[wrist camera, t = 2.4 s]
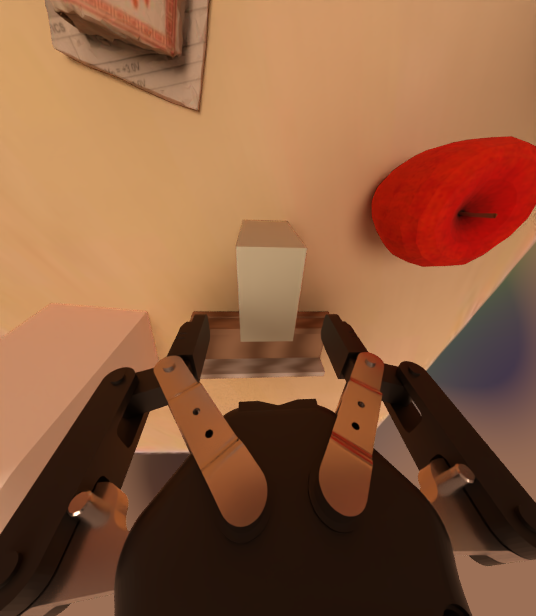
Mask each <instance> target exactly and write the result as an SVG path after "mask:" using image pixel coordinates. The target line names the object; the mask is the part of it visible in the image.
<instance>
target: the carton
mask: <svg viewBox="0 0 536 616" xmlns="http://www.w3.org/2000/svg"><path fill="white" fill-rule="evenodd" d="M306 251H307V247H306V246H305V245H304V243H303V242H302V241H301V239H300V238H299V237H298V235H297V234H296V232H295V231H294V230H293V228H292V227H291V226H290V224H289V223H288V221H269V220H243V221H242V225H241V229H240V232H239V236H238V240H237V244H236V259H237V279H238V298H239V318H240V338H241V342H265V341H293V337H294V330H295V325H296V319H297V312H298V306H299V299H300V293H301V286H302V280H303V273H304V267H305V260H306V254H307V253H306Z"/></svg>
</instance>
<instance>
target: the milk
mask: <svg viewBox="0 0 536 616" xmlns="http://www.w3.org/2000/svg"><path fill="white" fill-rule="evenodd" d="M157 362H159V361H158V356H157V352H156V348H155V343H154V339H153V334H152V330H151V326H150V321H149V317H148V312H147V311H139V310H127V309H116V308H104V307H93V306H82V305H70V304H59V303H50V304H49V305H48V306H46V307H45V308H43V309H42V310H40V311H39V312H38V313H36V314H35V315H33V316H32V317H31V318H29V319H28V320H26V321H25V322H23V323H22V324H21V325H19V326H18V327H16V328H15V329H13V330H12V331H11V332H9V333H8V334H6V335H5V336H4V337H2V338H1V339H0V534H1V532H2V531H3V529H4V528H5V526H6V525H7V523H8V522H9V520H10V519H11V517H12V516H13V514H14V513H15V511H16V510H17V508H18V507H19V505H20V504H21V502H22V501H23V499H24V498H25V496H26V495H27V493H28V492H29V490H30V488H31V487H32V485H33V484H34V482H35V481H36V479H37V478H38V476H39V475H40V473H41V472H42V470H43V469H44V467H45V466H46V464H47V463H48V461H49V460H50V458H51V457H52V455H53V454H54V452H55V451H56V449H57V448H58V446H59V445H60V443H61V442H62V440H63V439H64V437H65V436H66V434H67V432H68V431H69V429H70V428H71V426H72V425H73V423H74V422H75V420H76V419H77V417H78V416H79V414H80V413H81V411H82V410H83V408H84V407H85V405H86V404H87V402H88V401H89V399H90V398H91V396H92V395H93V393H94V392H95V390H96V389H97V387H98V386H99V384H100V383H101V381H102V380H103V378H104V377H105V376H106V375H107V374H109V373H110V372H112V371H114V370H116V369H119V368H123V367H130V368H132V369H134V371H135V373H136V372H140V371H144V370H147V369H151V368H154V367H155V365H156V364H157Z"/></svg>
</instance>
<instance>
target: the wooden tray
mask: <svg viewBox="0 0 536 616" xmlns="http://www.w3.org/2000/svg"><path fill="white" fill-rule="evenodd" d="M195 314H207V315H208V321H209V328H210V342H209V346H208V350H207V354H206V358H205V362H204V366H203V370H202V374H201V377H200V379H216V378H259V377H302V376H324V373H325V371H324V368H323V365H322V362H321V360H320V355H321V351H322V347H323V343H322V340H321V329H322V325H323V321H324V317H325V315H326V314H329V312H297V319H296V325H295V330H294V337H293V341H265V342H241V338H240V318H239V312H193V313H192V315H191V320H190V322H192V320H193V317H194V315H195Z"/></svg>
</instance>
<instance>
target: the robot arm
mask: <svg viewBox="0 0 536 616" xmlns="http://www.w3.org/2000/svg"><path fill="white" fill-rule="evenodd" d="M321 340H322V343H323V345H324V347H325V350H326V352H327V354H328V356H329V359H330V361H331V363H332V366H333V368H334V370H335V373H336V375H337V377H338V379H345V380H346V384H345V387H344V389H343V392H342V395H341V398H340V400H339V403H338V406H337V408H336V411H335V413H334V412H333V411H331V410H329V409H327V408H325V407H322V406H319V405H317V401H316V399H299V400H294V401H291V402H288V403H285V404H282V405H274V404H270V403H265V402H260V401H248V402H239V408H237V409H234V410H232V411H230V412H228V413H227V414H225V415H224V416H223V415H222V414H221V412H220V411H219V409H218V408H217V406H216V405H215V403H214V402H213V400H212V399H211V397H210V396H209V394H208V393H207V391H206V390H205V388H204V387H203V385H202V384H201V383H200V382H199V381H200V377H201V374H202V370H203V366H204V362H205V358H206V354H207V350H208V346H209V342H210V328H209V321H208V315H207V314H195V315H194V317H193V320H192V322H186V323H185V324H183V325H182V326H181V327H180V330H179V332H178V334H177V336H176V339H175V340H174V342H173V344H172V347H171V349H170V351H169V353H168V355H167V357H165V358H163V359H161V360H160V361H159V362H157V364H156V365H155V367H154V368H151V369H147V370H144V371H140V372H136V373H135V371H134V369H132V368H130V367H123V368H119V369H116V370H114V371H112V372H110V373H109V374H107V375H106V376H105V377H104V378H103V380H102V381H101V383H100V384H99V386H98V387H97V389H96V390H95V392H94V393H93V395H92V396H91V398H90V399H89V401H88V402H87V404H86V405H85V407H84V408H83V410H82V411H81V413H80V414H79V416H78V417H77V419H76V420H75V422H74V423H73V425H72V426H71V428H70V429H69V431H68V432H67V434H66V436H65V437H64V439H63V440H62V442H61V443H60V445H59V446H58V448H57V449H56V451H55V452H54V454H53V455H52V457H51V458H50V460H49V461H48V463H47V464H46V466H45V467H44V469H43V470H42V472H41V473H40V475H39V476H38V478H37V479H36V481H35V482H34V484H33V485H32V487H31V488H30V490H29V492H28V493H27V495H26V496H25V498H24V499H23V501H22V502H21V504H20V505H19V507H18V508H17V510H16V511H15V513H14V514H13V516H12V517H11V519H10V520H9V522H8V523H7V525H6V526H5V528H4V529H3V531H2V532H1V534H0V616H56V615H58V614H59V613H61V612H62V611H63V610H64V609H65V608H67V607H68V606H69V605H70V604H71V603H74V602H79V601H84V600H89V599H93V598H98V597H103V596H108V595H112V594H114V601H115V616H472V614H471V612H470V609H469V606H468V603H467V601H466V598H465V596H464V592H463V589H462V586H461V583H460V580H459V576H458V572H457V568H456V563H455V558H454V555H469V556H470V557H471V558H472V559H473V560H475V561H476V562H478V563H479V564H482V565H485V566H492V565H499V564H506V563H513V562H520V561H527V560H534V559H536V503H535V502H534V500H533V499H532V498H531V497H530V496H529V494H528V493H527V492H526V491H525V489H524V488H523V487H522V486H521V485H520V483H519V482H518V481H517V480H516V479H515V478H514V476H513V475H512V474H511V473H510V471H509V470H508V469H507V468H506V467H505V465H504V464H503V463H502V462H501V461H500V459H499V458H498V457H497V456H496V455H495V453H494V452H493V451H492V450H491V449H490V447H489V446H488V445H487V444H486V443H485V441H484V440H483V439H482V438H481V437H480V436H479V434H478V433H477V432H476V431H475V429H474V428H473V427H472V426H471V424H470V423H469V422H468V421H467V420H466V419H465V417H464V416H463V415H462V414H461V412H460V411H459V410H458V409H457V408H456V407H455V405H454V404H453V403H452V402H451V400H450V399H449V398H448V397H447V396H446V395H445V393H444V392H443V391H442V390H441V388H440V387H439V386H438V385H437V384H436V382H435V381H434V380H433V379H432V378H431V376H430V375H429V374H428V373H427V372H426V370H425V369H423V368H422V367H421V366H419V365H417V364H415V363H413V362H409V361H404V362H401V363H400V365H399V367H397V366H393V365H388V364H384V363H383V361H382V360H381V359H380V358H379V357H378V356H376V355H374V354H372V353H369V352H368V351H367V350H366V348H365V347H364V345H363V344H362V342H361V341H360V339H359V338H358V337H357V335H356V333H355V332H354V330H353V329H352V327H351V326H350V325H349V324H347V323H346V322H345V321H343V322H342V320H341V319H340V317H339V316H338V315H337V314H326V315H325V317H324V321H323V325H322V329H321ZM381 401H383V402H384V404H385V406H386V408H387V410H388V412H389V414H390V415H391V418H392V420H393V421H394V423H395V425H396V427H397V429H398V431H399V433H400V435H401V437H402V439H403V441H404V442H405V444H406V446H407V448H408V450H409V452H410V454H411V456H412V458H413V460H414V461H415V463H416V465H417V467H418V469H419V473H418V481H419V485H420V487H421V488H420V490H419V489H418V488H417V487H416V486H414V485H413V484H412V483H411V482H410V481H409V480H408V479H407V478H406V477H405V476H404V475H402V474H401V473H400V472H399V471H398V470H397V469H396V468H395V467H394V466H392V464H390V463H389V462H388V461H387V460H386V459H385V458H384V457H383V456H382V455H381V454H380V453H378V452H377V451H376V450H375V449H374V448H373V446H374V441H375V435H376V429H377V423H378V418H379V412H380V406H381ZM412 401H414V403H415V404H416V406H417V407H418V409H419V410H420V412H421V415H422V416H421V415H420V413H419V412H418V410H417V409H416V407H415V406H414V404H413V403H412ZM167 405H168V406H169V408H170V411H171V413H172V415H173V417H174V419H175V421H176V424H177V426H178V428H179V430H180V432H181V434H182V437H183V439H184V441H185V443H186V446H187V448H188V450H189V452H190V455H189V456H188V457H187V458H186V460H185V461H184V462H183V464H182V465H181V466H180V467H179V468H178V469H177V471H176V472H175V473H174V474H173V475H172V477H171V478H170V479H169V480H168V482H167V483H166V484H165V485H164V487H163V488H162V489H161V490H160V491H159V492H158V494H157V495H156V496H155V497H154V499H153V500H152V501H151V502H150V503H149V505H148V506H147V507H146V508H145V509H144V511H143V512H142V513H141V515H140V516H139V517H138V519H137V520H136V522H135V523H134V525H133V527H132V528H131V530H130V531H128V530H127V527H126V515H127V511H128V498H127V496H126V494H125V493H123V492H122V491H121V487H122V485H123V482H124V479H125V477H126V474H127V471H128V468H129V466H130V463H131V460H132V457H133V455H134V452H135V450H136V447H137V444H138V442H139V439H140V436H141V433H142V431H143V428H144V425H145V423H146V420H147V417H148V415H149V412H150V411H152V410H155V409H158V408H161V407H164V406H167Z"/></svg>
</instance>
